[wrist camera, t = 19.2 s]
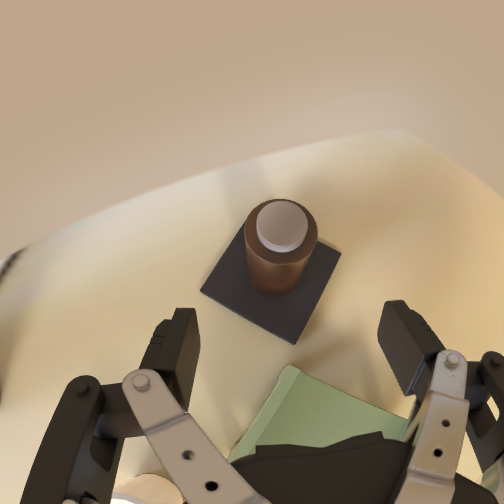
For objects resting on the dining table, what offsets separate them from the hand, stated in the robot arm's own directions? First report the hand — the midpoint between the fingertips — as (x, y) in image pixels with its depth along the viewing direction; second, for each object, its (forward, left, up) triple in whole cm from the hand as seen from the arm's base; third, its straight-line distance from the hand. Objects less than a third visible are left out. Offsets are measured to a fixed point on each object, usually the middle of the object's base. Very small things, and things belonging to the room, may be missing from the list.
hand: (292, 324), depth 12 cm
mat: (-3, +6, -15) cm, 16 cm away
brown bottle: (-3, +6, -14) cm, 15 cm away
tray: (+8, -6, -15) cm, 18 cm away
